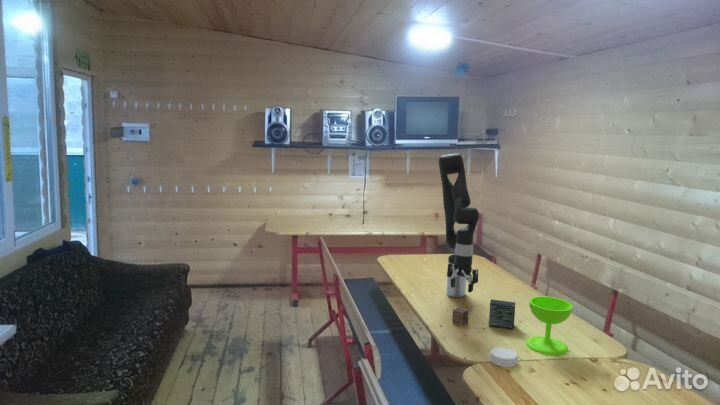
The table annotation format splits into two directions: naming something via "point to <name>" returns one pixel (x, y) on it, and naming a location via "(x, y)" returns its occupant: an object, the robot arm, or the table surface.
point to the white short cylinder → (503, 357)
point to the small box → (502, 314)
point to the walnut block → (460, 316)
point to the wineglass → (549, 324)
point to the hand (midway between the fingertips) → (461, 289)
